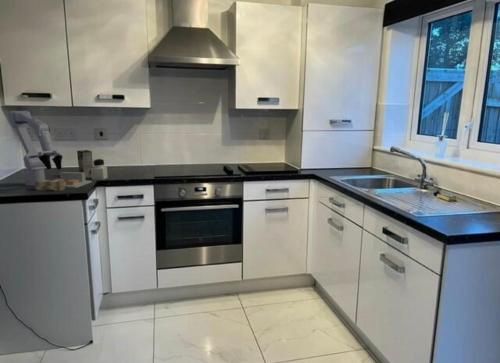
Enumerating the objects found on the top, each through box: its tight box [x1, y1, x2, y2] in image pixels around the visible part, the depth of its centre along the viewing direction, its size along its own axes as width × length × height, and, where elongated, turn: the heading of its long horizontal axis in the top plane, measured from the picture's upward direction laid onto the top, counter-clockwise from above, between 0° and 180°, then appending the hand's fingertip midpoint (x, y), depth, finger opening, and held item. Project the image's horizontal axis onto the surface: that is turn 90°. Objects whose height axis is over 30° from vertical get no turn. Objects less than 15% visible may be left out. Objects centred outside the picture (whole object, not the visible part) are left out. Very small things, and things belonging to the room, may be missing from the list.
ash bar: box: [34, 179, 66, 192], centre depth 196 cm, size 14×4×5 cm, turn 83°
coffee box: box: [76, 149, 94, 178], centre depth 233 cm, size 9×6×16 cm
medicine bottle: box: [91, 158, 109, 181], centre depth 224 cm, size 7×7×12 cm
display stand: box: [54, 171, 92, 189], centre depth 209 cm, size 20×15×6 cm
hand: (54, 169), depth 196 cm, fingers open, 7 cm apart
